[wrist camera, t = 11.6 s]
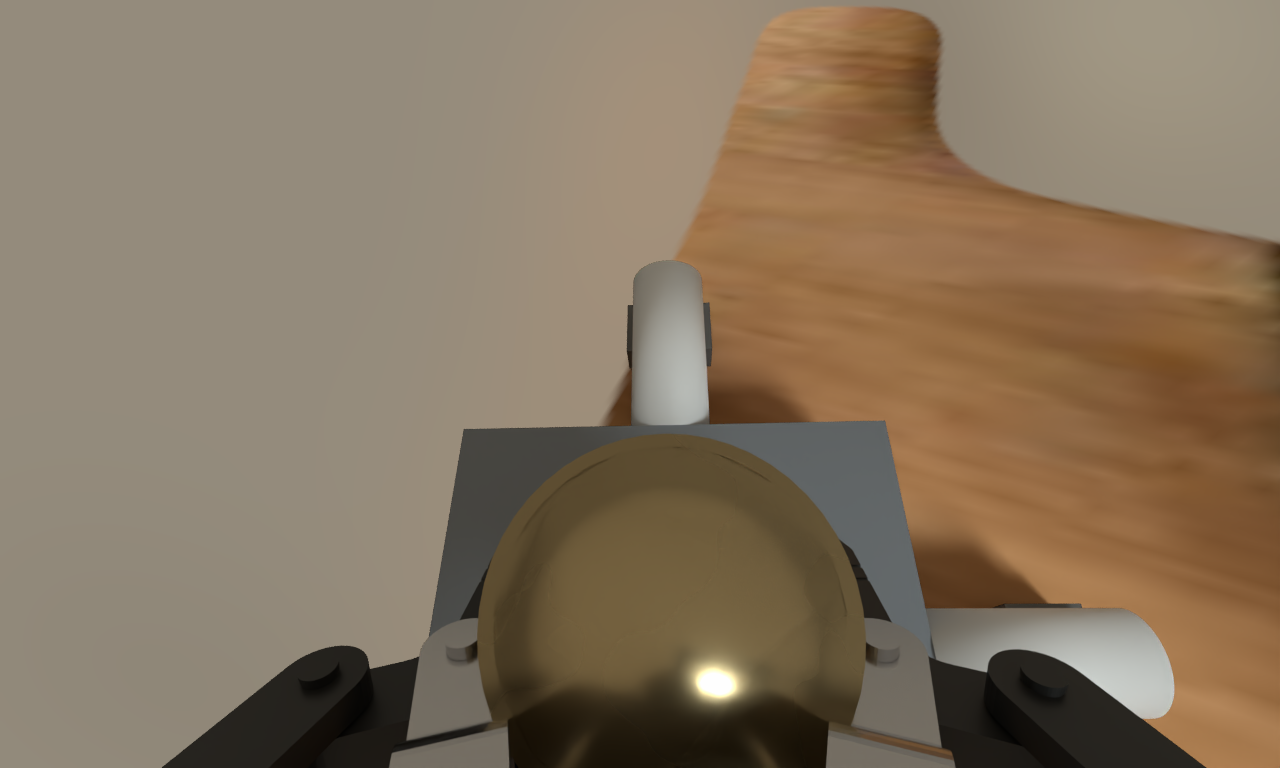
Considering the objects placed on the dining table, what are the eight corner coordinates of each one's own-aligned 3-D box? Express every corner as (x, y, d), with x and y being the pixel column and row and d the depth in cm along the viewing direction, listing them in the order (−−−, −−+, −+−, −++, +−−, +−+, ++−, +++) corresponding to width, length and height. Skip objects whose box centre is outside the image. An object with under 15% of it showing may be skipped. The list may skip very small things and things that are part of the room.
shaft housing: (962, 313, 22) (1008, 247, 19) (1167, 961, 13) (1316, 1037, 10) (516, 327, 23) (490, 267, 20) (435, 937, 14) (366, 999, 11)
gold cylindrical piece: (758, 571, 17) (833, 430, 8) (776, 774, 14) (903, 855, 6) (589, 572, 17) (501, 436, 9) (579, 771, 15) (446, 844, 6)
